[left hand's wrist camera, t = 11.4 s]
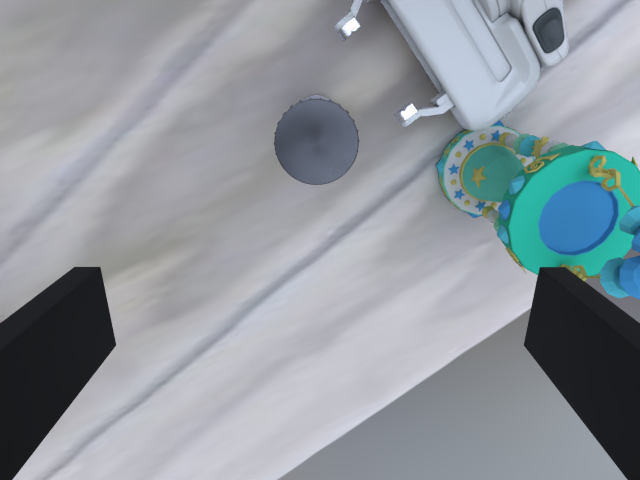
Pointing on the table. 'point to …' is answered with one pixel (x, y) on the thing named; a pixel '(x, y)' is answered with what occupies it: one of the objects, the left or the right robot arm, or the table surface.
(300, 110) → the lid
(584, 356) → the left robot arm
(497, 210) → the decorative hourglass
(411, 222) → the table surface
